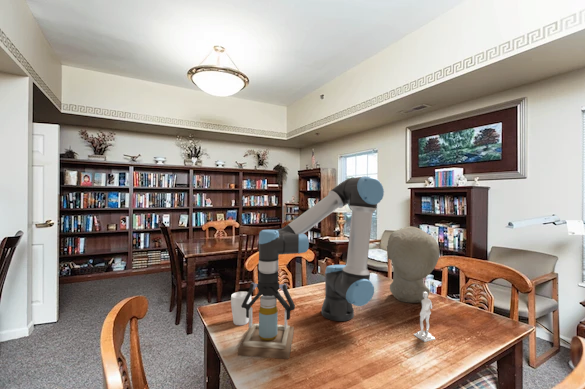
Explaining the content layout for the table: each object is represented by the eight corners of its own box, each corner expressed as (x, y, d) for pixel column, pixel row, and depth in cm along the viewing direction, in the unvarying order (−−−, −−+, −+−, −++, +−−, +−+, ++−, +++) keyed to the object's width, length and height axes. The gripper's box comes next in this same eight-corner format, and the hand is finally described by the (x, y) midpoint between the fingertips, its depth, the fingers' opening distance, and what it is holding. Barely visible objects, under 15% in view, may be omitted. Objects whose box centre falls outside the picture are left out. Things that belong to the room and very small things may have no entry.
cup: (247, 327, 117) (247, 299, 117) (227, 325, 119) (227, 297, 119) (254, 318, 126) (254, 292, 126) (235, 316, 128) (235, 290, 128)
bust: (441, 299, 151) (442, 226, 151) (436, 319, 127) (437, 231, 127) (393, 290, 164) (394, 223, 164) (380, 307, 140) (381, 228, 140)
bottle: (259, 332, 108) (259, 294, 108) (277, 331, 109) (277, 293, 109) (258, 341, 101) (258, 300, 101) (277, 341, 102) (277, 300, 102)
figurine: (429, 331, 115) (429, 288, 116) (441, 339, 109) (441, 293, 109) (411, 333, 114) (411, 289, 114) (422, 342, 107) (422, 295, 107)
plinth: (293, 332, 113) (293, 323, 113) (288, 358, 95) (289, 348, 95) (250, 330, 115) (250, 321, 115) (237, 355, 97) (237, 344, 97)
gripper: (301, 269, 108) (301, 323, 108) (239, 267, 110) (238, 320, 110) (300, 274, 100) (300, 333, 100) (233, 272, 103) (232, 329, 103)
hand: (268, 326), depth 105 cm, fingers open, 13 cm apart
